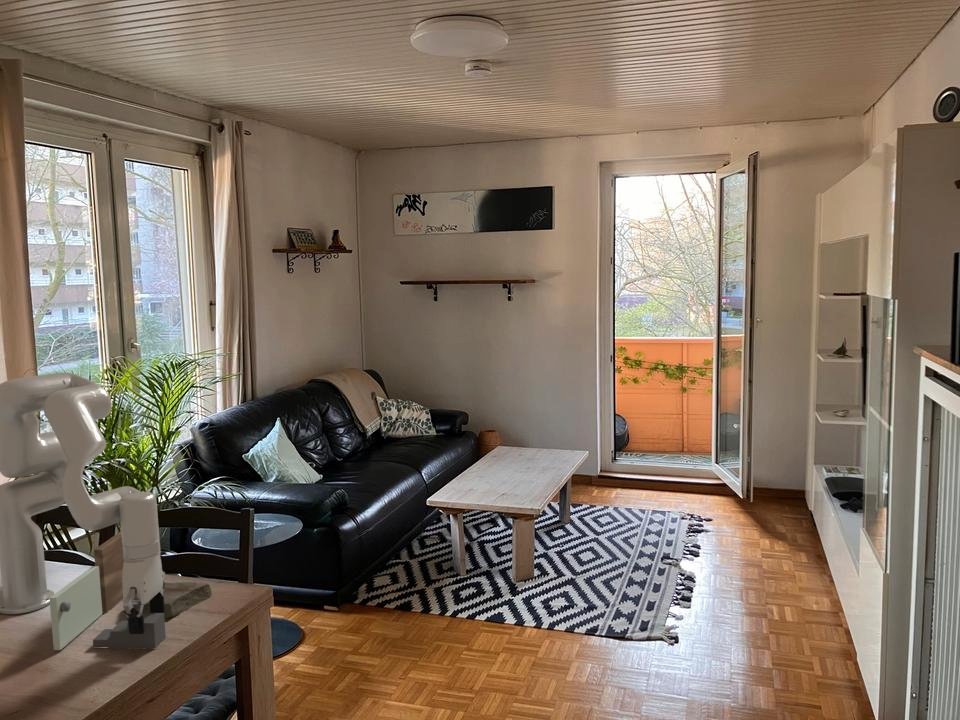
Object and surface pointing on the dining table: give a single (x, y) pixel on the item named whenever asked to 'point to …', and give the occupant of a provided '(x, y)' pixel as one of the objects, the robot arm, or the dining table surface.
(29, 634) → the dining table surface
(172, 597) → the marble piece
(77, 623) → the door
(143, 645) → the grey stepped block
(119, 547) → the wood grain plank
